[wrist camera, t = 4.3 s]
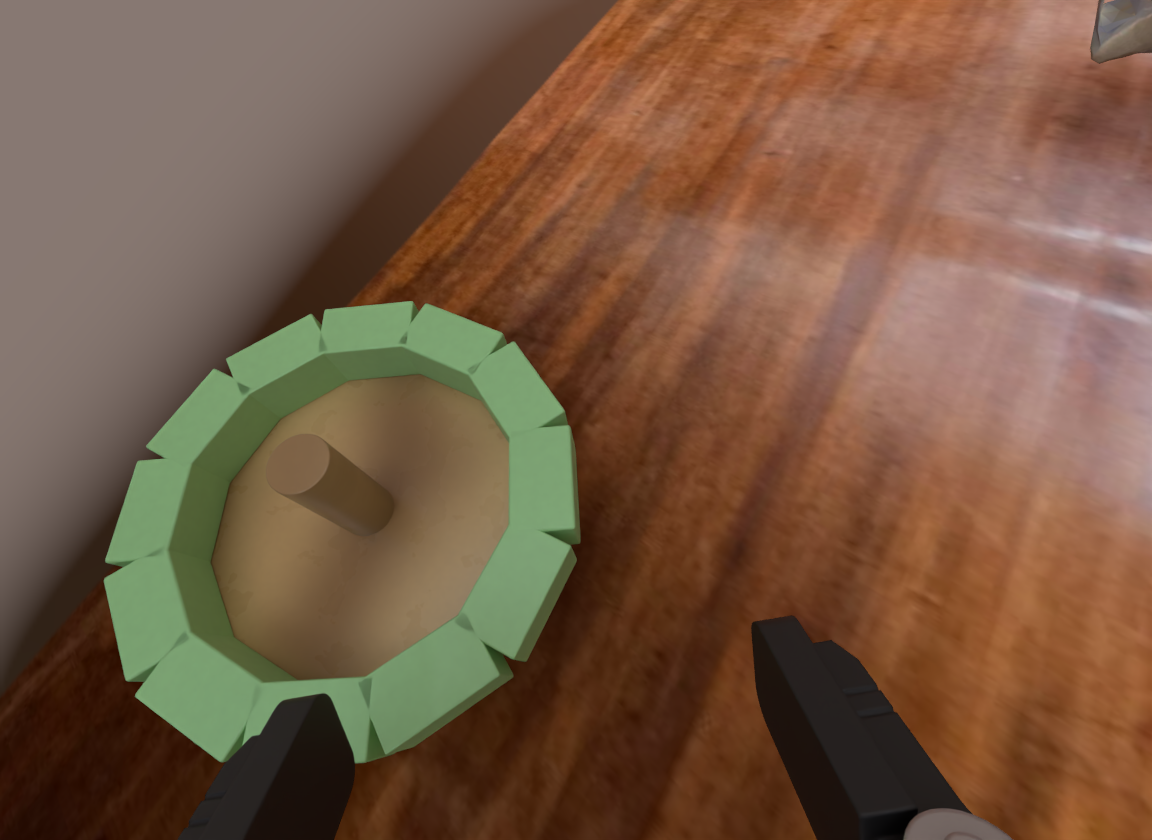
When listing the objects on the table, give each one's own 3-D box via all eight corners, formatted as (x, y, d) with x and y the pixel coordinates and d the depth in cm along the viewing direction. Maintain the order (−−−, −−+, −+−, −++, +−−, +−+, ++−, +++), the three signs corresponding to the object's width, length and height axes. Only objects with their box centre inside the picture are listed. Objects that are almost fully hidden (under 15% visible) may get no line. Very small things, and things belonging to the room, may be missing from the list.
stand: (268, 702, 22) (11, 716, 13) (315, 436, 27) (156, 310, 18) (559, 686, 21) (506, 688, 12) (550, 416, 26) (508, 275, 17)
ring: (98, 768, 16) (31, 779, 14) (216, 351, 22) (181, 323, 21) (591, 744, 15) (586, 752, 13) (568, 318, 22) (563, 285, 20)
